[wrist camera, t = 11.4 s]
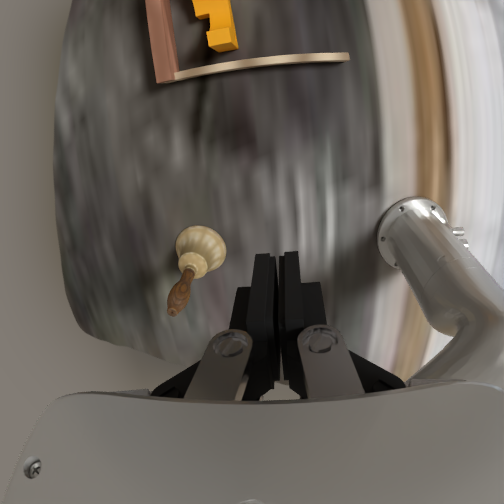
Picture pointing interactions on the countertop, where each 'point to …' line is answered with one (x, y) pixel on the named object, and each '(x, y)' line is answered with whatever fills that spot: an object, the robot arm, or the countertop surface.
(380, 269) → the countertop surface
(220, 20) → the pipe clamp
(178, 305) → the hand bell
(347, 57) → the guide channel
